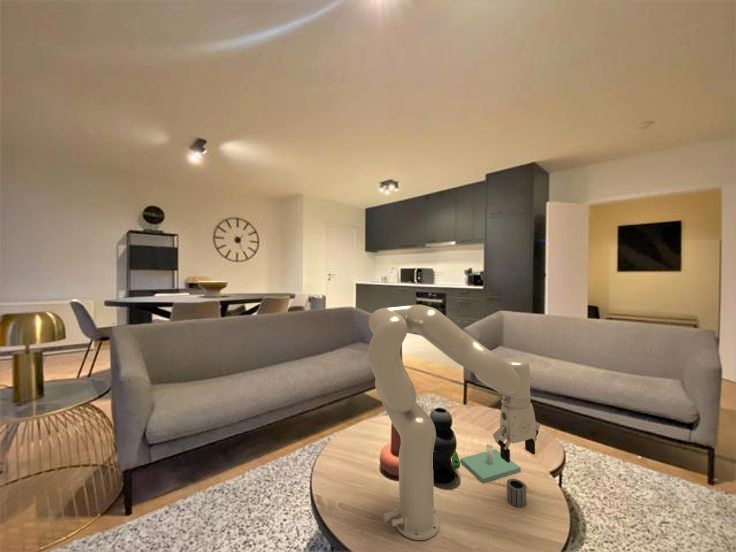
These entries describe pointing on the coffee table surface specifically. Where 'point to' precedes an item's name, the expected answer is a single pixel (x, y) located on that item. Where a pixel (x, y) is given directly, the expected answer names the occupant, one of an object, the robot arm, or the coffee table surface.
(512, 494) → the grey ribbed cylinder
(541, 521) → the coffee table surface
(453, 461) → the clamp
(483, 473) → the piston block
